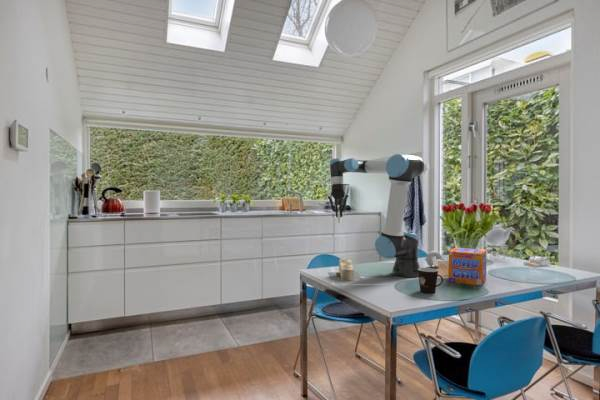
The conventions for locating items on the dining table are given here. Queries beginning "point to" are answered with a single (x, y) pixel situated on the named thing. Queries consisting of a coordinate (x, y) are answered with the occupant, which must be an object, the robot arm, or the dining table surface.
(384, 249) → the robot arm
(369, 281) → the dining table surface
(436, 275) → the coffee mug
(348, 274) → the birch block
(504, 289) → the dining table surface
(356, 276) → the mat
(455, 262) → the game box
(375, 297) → the dining table surface
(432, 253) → the donut
